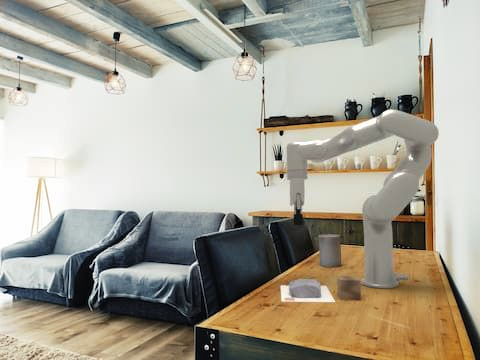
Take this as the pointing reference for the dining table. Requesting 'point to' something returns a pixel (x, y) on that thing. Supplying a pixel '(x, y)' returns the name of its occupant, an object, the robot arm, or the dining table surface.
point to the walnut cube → (349, 287)
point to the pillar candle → (330, 250)
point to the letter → (288, 297)
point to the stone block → (305, 288)
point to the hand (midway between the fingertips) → (298, 224)
